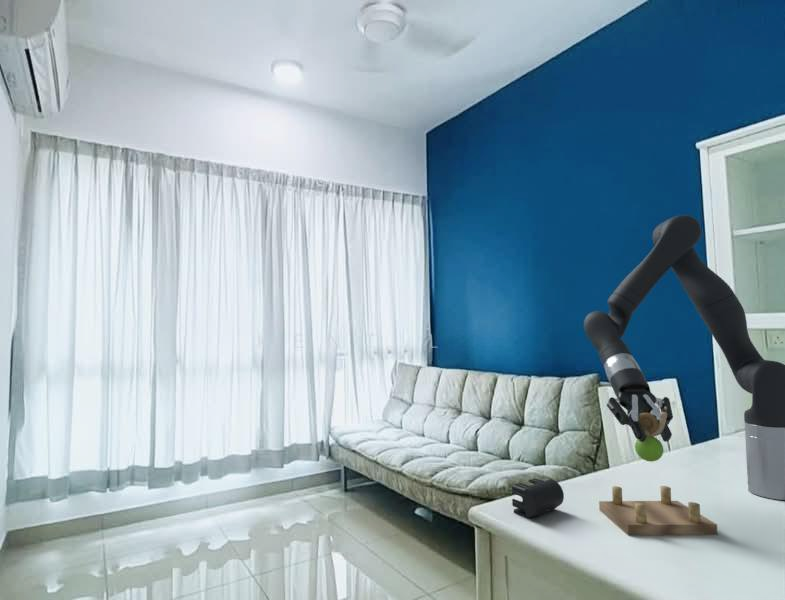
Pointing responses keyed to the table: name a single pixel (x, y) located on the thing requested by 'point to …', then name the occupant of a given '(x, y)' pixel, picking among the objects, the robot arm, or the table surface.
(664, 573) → the table surface
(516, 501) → the end cap
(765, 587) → the table surface
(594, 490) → the table surface
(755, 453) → the robot arm
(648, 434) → the snail figurine
